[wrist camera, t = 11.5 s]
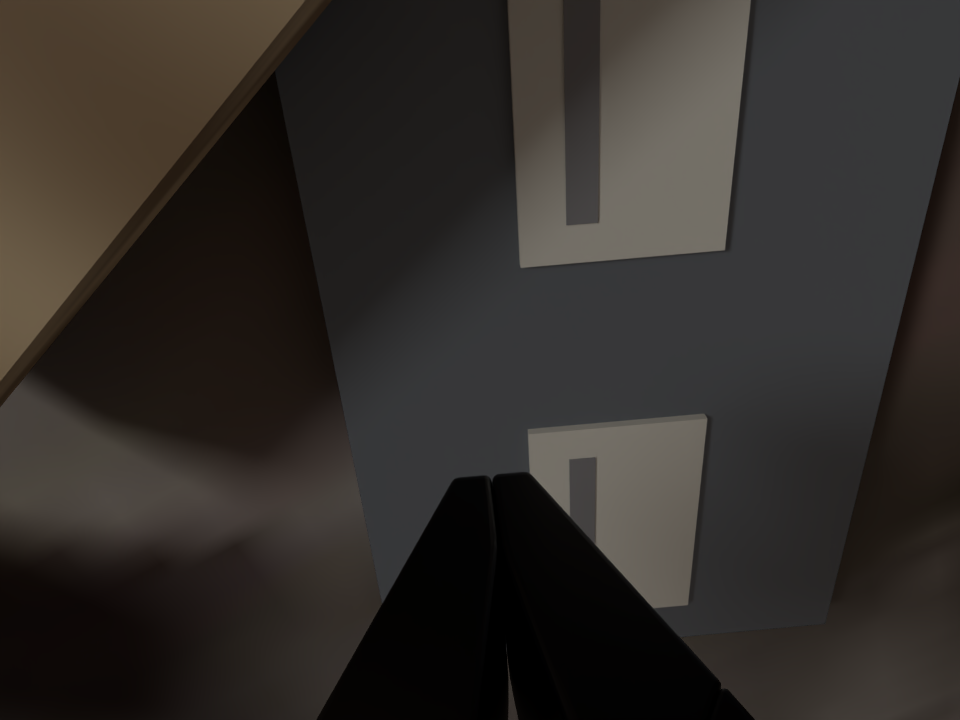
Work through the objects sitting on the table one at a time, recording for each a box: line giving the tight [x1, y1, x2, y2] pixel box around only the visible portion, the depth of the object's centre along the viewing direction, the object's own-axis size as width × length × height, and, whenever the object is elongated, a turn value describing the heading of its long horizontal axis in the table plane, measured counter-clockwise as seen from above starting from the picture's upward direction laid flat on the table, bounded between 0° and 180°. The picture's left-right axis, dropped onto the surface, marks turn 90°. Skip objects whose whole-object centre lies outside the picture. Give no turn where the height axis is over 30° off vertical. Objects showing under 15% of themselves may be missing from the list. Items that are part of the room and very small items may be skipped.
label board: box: [275, 0, 960, 651], centre depth 16 cm, size 19×12×1 cm, turn 4°
